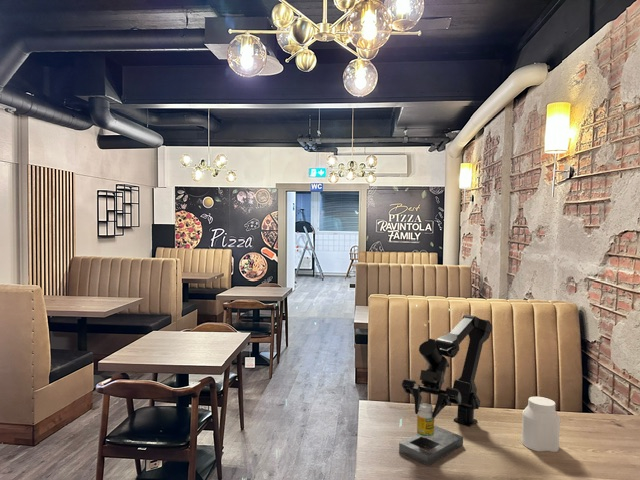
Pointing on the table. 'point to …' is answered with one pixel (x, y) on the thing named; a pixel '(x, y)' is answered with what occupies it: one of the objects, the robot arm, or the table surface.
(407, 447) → the grey slotted block
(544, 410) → the jar
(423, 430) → the supplement bottle
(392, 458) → the table surface
